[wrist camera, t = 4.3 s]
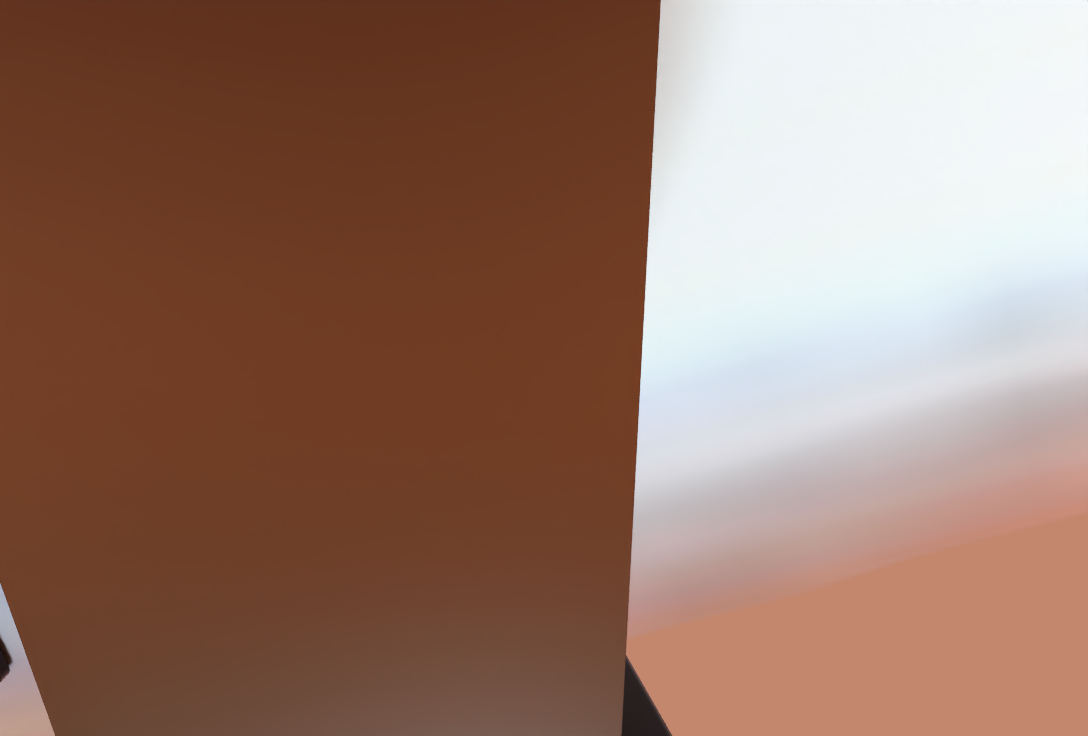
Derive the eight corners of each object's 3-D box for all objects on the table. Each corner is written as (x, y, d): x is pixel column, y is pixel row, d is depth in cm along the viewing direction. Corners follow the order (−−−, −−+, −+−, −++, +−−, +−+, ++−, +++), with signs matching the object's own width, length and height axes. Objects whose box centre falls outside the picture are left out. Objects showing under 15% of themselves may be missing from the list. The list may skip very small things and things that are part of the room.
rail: (582, 844, 12) (602, 1419, 7) (390, 840, 12) (253, 1405, 7) (608, -153, 7) (832, -1487, 1) (267, -148, 7) (-928, -1384, 1)
